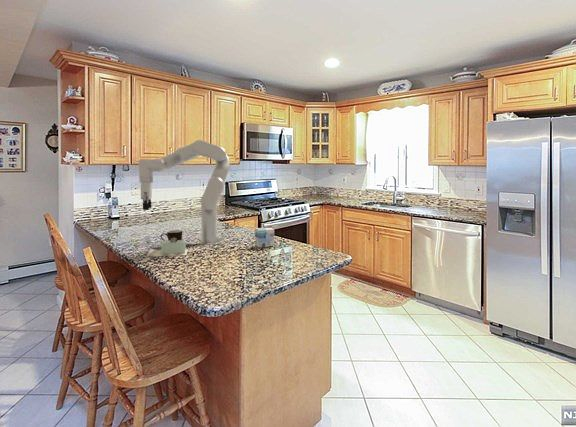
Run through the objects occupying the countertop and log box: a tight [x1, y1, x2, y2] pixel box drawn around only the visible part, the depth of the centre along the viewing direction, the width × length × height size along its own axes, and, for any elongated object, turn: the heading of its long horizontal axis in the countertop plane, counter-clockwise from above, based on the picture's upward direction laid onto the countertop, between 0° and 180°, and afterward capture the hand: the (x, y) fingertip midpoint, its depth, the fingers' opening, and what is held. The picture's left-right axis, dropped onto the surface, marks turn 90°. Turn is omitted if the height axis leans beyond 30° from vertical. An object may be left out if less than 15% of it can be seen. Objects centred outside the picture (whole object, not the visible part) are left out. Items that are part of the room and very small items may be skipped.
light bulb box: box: [254, 227, 275, 248], centre depth 218 cm, size 11×7×11 cm, turn 112°
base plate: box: [146, 248, 188, 257], centre depth 192 cm, size 20×14×2 cm
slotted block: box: [160, 239, 187, 254], centre depth 192 cm, size 12×6×6 cm, turn 103°
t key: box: [138, 234, 158, 247], centre depth 215 cm, size 2×10×6 cm, turn 102°
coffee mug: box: [160, 229, 183, 242], centre depth 209 cm, size 12×9×10 cm
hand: (147, 208), depth 212 cm, fingers open, 9 cm apart
